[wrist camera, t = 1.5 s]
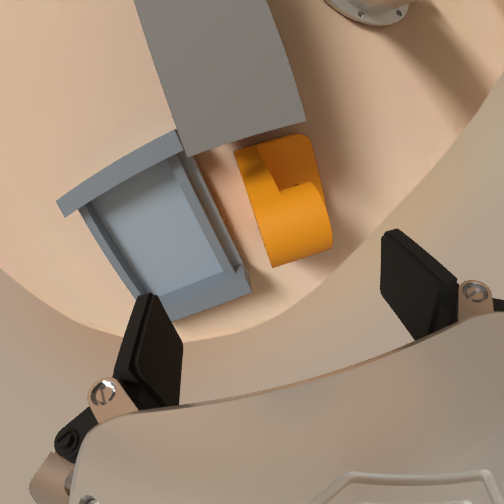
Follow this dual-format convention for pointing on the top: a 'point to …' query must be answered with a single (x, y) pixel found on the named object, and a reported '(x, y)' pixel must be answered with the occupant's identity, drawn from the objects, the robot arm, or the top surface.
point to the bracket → (286, 197)
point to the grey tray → (162, 228)
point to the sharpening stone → (220, 69)
